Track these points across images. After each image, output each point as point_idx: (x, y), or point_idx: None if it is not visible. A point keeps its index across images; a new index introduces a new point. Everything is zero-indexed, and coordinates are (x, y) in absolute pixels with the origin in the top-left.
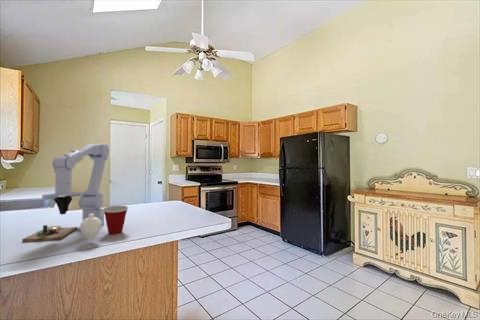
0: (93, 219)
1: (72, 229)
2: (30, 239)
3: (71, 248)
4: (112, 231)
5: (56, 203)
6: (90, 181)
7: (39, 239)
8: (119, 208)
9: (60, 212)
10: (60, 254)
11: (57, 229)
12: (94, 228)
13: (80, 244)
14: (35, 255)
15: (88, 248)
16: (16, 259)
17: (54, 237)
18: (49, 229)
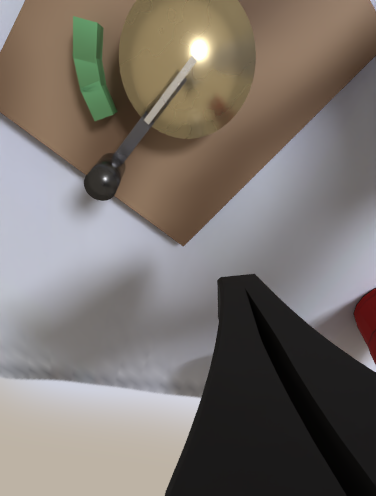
0: None
1: (316, 101)
2: (34, 134)
3: (168, 363)
4: (361, 334)
5: (199, 412)
6: None
7: (85, 170)
8: None
9: (219, 308)
10: (125, 386)
11: (205, 132)
12: None
13: (207, 347)
14: (59, 353)
15: (203, 390)
16: (4, 350)
17: (155, 225)
18: (148, 129)
